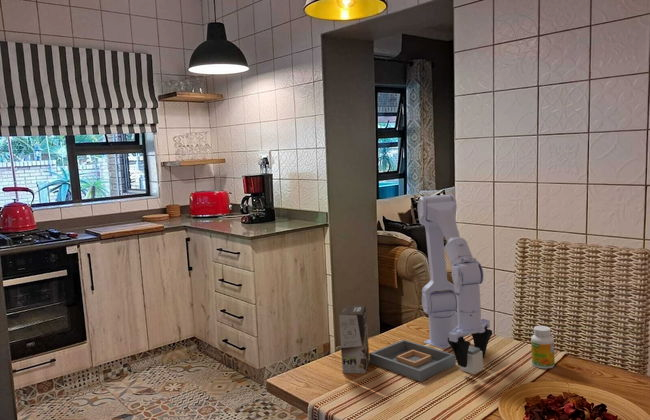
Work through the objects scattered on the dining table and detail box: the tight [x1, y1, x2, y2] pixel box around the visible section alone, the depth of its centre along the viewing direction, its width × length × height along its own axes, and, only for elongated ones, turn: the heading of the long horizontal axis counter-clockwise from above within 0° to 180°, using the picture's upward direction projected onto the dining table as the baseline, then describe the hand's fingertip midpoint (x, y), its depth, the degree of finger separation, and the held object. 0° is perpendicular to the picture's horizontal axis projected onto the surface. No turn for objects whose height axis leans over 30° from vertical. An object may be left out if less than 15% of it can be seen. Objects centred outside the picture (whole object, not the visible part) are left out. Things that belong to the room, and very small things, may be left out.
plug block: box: [459, 345, 484, 375], centre depth 130 cm, size 4×4×6 cm
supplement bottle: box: [530, 325, 556, 369], centre depth 130 cm, size 5×5×10 cm
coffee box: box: [338, 304, 370, 374], centre depth 137 cm, size 9×6×16 cm
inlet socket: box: [396, 350, 432, 367], centre depth 139 cm, size 7×7×1 cm
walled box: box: [369, 339, 457, 382], centre depth 136 cm, size 14×18×3 cm
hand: (471, 361), depth 130 cm, fingers open, 7 cm apart
